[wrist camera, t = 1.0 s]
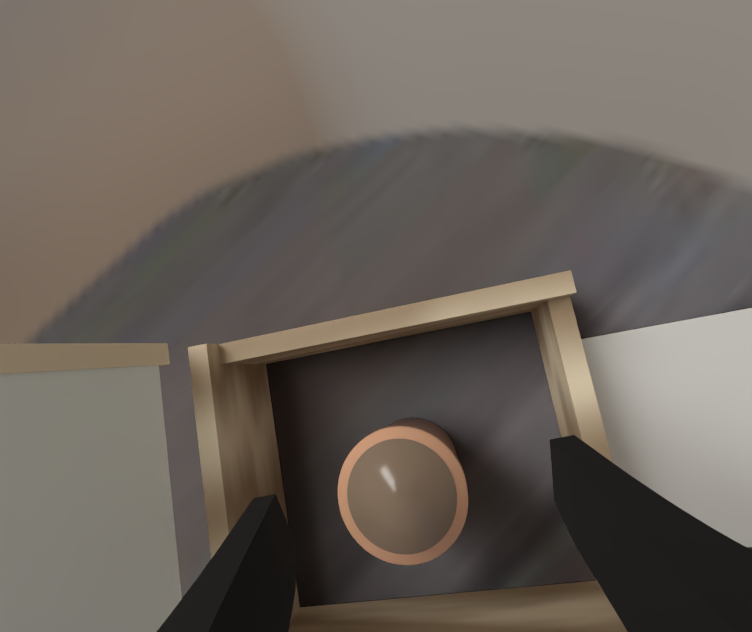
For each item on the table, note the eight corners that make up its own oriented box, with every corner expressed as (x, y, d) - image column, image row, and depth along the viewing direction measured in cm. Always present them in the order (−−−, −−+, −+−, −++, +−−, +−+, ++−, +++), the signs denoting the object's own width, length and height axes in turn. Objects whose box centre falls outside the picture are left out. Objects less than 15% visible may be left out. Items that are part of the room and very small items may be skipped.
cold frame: (622, 600, 20) (692, 697, 14) (286, 627, 23) (228, 718, 17) (545, 290, 22) (577, 264, 17) (249, 351, 25) (187, 347, 19)
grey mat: (839, 534, 19) (845, 537, 18) (633, 555, 20) (635, 558, 20) (764, 305, 20) (768, 304, 20) (577, 340, 22) (579, 339, 22)
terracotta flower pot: (473, 505, 22) (481, 559, 16) (375, 517, 23) (348, 572, 17) (452, 403, 23) (452, 418, 17) (358, 419, 24) (327, 438, 18)
